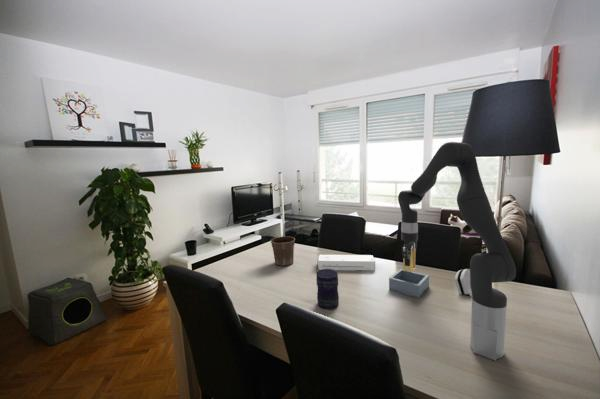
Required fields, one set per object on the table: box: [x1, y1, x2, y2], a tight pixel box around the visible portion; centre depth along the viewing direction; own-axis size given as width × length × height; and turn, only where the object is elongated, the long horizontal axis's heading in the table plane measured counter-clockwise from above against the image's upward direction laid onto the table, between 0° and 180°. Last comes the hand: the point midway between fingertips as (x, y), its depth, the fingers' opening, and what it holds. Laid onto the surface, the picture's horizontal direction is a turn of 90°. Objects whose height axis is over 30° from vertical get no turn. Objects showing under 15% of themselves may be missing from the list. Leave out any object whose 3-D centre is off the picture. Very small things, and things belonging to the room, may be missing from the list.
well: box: [388, 268, 430, 299], centre depth 133 cm, size 14×14×6 cm
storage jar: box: [316, 269, 340, 311], centre depth 121 cm, size 10×10×15 cm
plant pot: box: [270, 236, 296, 266], centre depth 175 cm, size 16×16×16 cm
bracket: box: [402, 249, 416, 272], centre depth 131 cm, size 5×4×10 cm
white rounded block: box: [454, 268, 472, 298], centre depth 130 cm, size 17×5×10 cm, turn 136°
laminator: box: [316, 254, 376, 272], centre depth 165 cm, size 34×12×6 cm, turn 81°
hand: (409, 263), depth 132 cm, fingers closed on bracket, 5 cm apart
